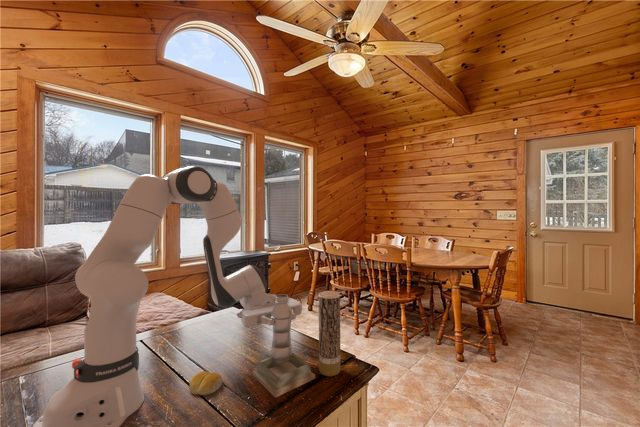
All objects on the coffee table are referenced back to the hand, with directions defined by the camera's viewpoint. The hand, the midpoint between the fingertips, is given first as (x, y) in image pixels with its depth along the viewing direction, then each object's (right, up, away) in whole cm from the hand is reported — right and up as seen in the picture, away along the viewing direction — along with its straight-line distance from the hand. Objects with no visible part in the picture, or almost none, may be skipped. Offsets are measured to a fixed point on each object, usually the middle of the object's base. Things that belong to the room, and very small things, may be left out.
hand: (283, 319), depth 89 cm
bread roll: (-22, -18, -4) cm, 29 cm away
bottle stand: (0, -18, +1) cm, 18 cm away
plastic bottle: (-1, -13, +1) cm, 13 cm away
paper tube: (+14, -18, +3) cm, 23 cm away
